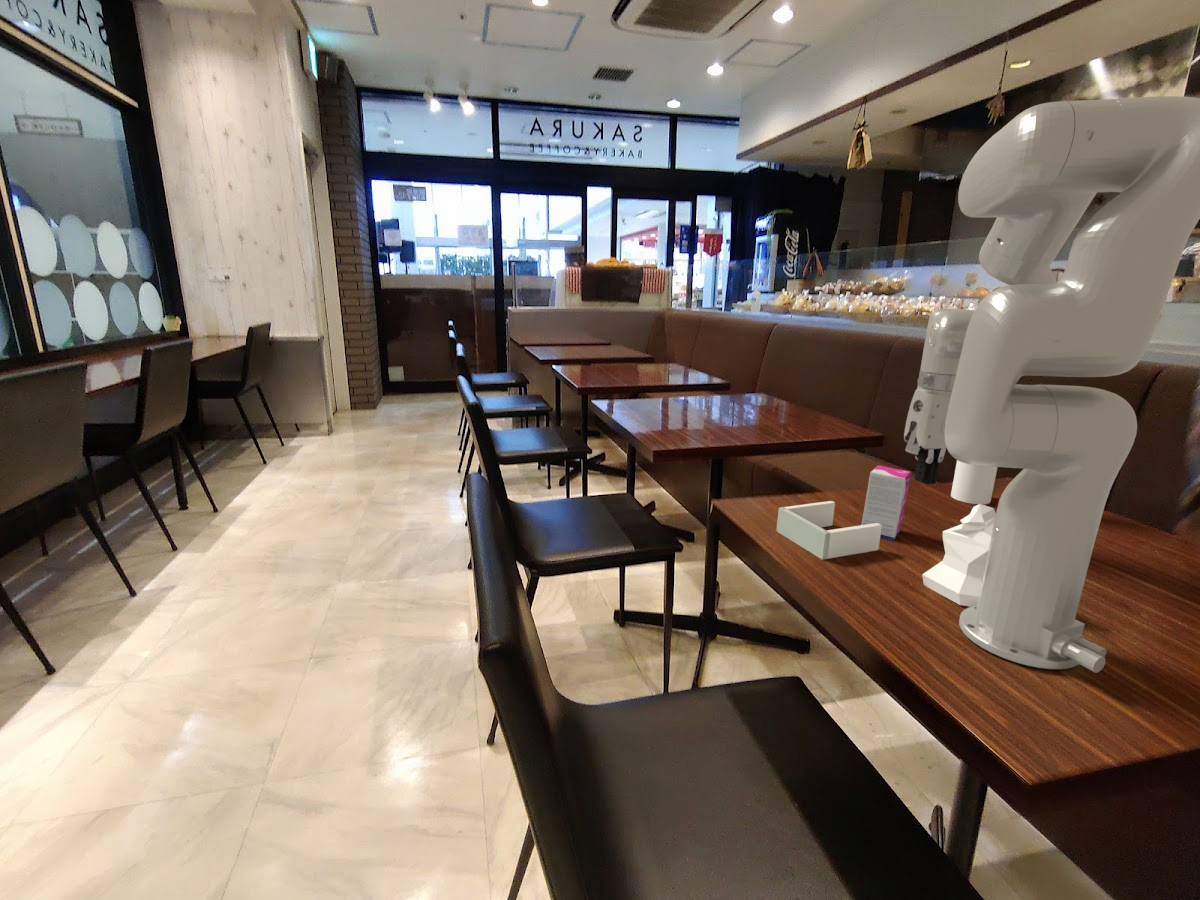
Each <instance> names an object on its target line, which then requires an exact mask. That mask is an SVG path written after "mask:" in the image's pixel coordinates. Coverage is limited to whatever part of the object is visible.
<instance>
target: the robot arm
mask: <svg viewBox="0 0 1200 900" xmlns="http://www.w3.org/2000/svg"><path fill="white" fill-rule="evenodd" d="M958 188H959V189H958V192H957V193H958V195H957V196H958V197H957V200H958V201H957V202H958V207H959V208H960V212H961V213H962V214H964V215H965V216H966V217H969V218H977V219H978V218H991V219H992V218H996V219H995V221H994V223H993V224H992V227H991V228H990V230H989V232H988V234H987V236H986V238H985V239H984V242H983V244H982V245H981V248H980V251H979V253H978V260H979V263H980V267H982V269H983V270H984V271H985V272H986V274H988V275H990V277H992V278H994V279H996V280H997V281H999V282H1001V283H1003V284H1006V285H1005V286H1001V287H999V288H996V289H994V290H992V291H991V292H989V293H988V294H987V295H986V296H984V297H983V299H981V301H980V302H979V304H978V305H977V307H976V308H975V310H973V309H966V308H939V309H935V310H933V311H932V312H931V314H930V315H929V318H928V321H927V327H926V334H925V339H924V344H923V352H922V357H921V362H920V363H921V364H920V370H919V375H918V378H917V380H916V381H917V387H916V389H915V391H914V394H913V395H912V398H911V401H910V405H909V409H908V412H907V417H906V420H905V427H904V432H903V440H904V442H905V443H906V446H905V449H904V450H905V452H906V453H909V454H912V455H914V456H915V460H917V462H916V468H915V473H914V480H915V481H917V482H920V483H922V484H925V485H928V486H930V485H935V484H936V483H937V480H938V479H937V478H938V472H939V468H940V463H942V462H943V460H944V457H945V455H946V454H947V452H948V453H949V454H950V456H951V457H952V458H954V459H955V460H956V461H957V460H958V461H960V462H963V463H966V464H970V465H978V466H991V467H997V468H1006V469H1007V468H1010V469H1011V468H1012V469H1021V471H1020V472H1019V473H1018V474H1016V476H1015V477H1014V478H1013V479H1012V480H1011V481H1010V482H1009V483H1008V484H1007V486H1006V487H1005V489H1004V490H1003V491H1002V493H1001V495H1000V498H999V500H998V504H997V508H996V511H995V512H996V517H995V522H994V527H993V531H992V536H991V541H990V546H989V551H988V556H987V561H986V565H985V570H984V575H983V580H982V585H981V590H980V594H979V599H978V604H977V606H972V607H970V606H968V607H967V608H965V609H964V610H962V611H961V612H960V614H959V615H960V616H959V619H958V620H959V621H958V622H959V623H958V624H959V627H960V629H961V631H962V633H963V634H964V635H965V636H966V637H967V638H968V639H969V640H971V641H972V642H973V643H974V644H975V645H977V646H979V647H980V648H981V649H984V650H986V651H988V653H991V654H993V655H995V656H998V657H999V658H1002V659H1005V660H1008V661H1009V662H1010V661H1011V662H1012V663H1017V664H1020V665H1023V666H1024V665H1025V666H1028V667H1033V668H1036V669H1044V670H1045V669H1046V670H1066V669H1072V668H1074V667H1077V666H1079V665H1080V666H1083V667H1084V668H1086V669H1087V670H1090V671H1091V672H1093V673H1099V672H1100V671H1102V670H1103V669H1104V667H1105V665H1106V658H1105V657H1106V655H1107V649H1106V648H1105V647H1103V646H1101V645H1098V644H1097V643H1095V642H1091V641H1089V640H1087V639H1086V637H1085V636H1084V635H1083V632H1084V628H1085V623H1084V622H1081V621H1080V620H1078V619H1076V617H1077V613H1078V608H1079V604H1080V601H1081V598H1082V593H1083V590H1084V584H1085V580H1086V578H1087V573H1088V570H1089V569H1088V568H1089V566H1090V561H1091V558H1092V554H1093V549H1094V547H1095V542H1096V538H1097V535H1098V532H1099V528H1100V524H1101V520H1102V517H1103V514H1104V510H1105V506H1106V503H1107V499H1108V498H1109V495H1110V491H1111V489H1112V486H1113V484H1114V482H1115V480H1116V478H1117V476H1118V474H1119V472H1120V470H1121V468H1123V467H1122V466H1123V465H1124V463H1125V461H1126V459H1127V457H1128V455H1129V454H1130V451H1131V449H1132V448H1133V445H1134V442H1135V439H1136V437H1137V432H1138V420H1137V415H1136V413H1135V410H1134V408H1133V407H1132V405H1131V404H1130V403H1129V402H1128V401H1127V400H1126V399H1125V398H1123V397H1122V396H1120V395H1119V394H1117V393H1114V392H1112V391H1109V390H1105V389H1102V388H1097V387H1090V386H1081V385H1065V384H1063V385H1062V384H1059V385H1058V384H1017V383H1018V381H1019V380H1020V378H1021V377H1023V376H1033V377H1035V376H1037V377H1038V376H1039V377H1040V376H1041V377H1063V378H1064V377H1065V378H1066V377H1067V378H1102V377H1103V378H1104V377H1113V376H1119V375H1121V374H1122V375H1123V374H1124V373H1127V372H1129V371H1131V370H1132V369H1134V368H1135V367H1136V366H1137V365H1138V364H1139V362H1140V361H1141V360H1142V358H1143V357H1144V355H1145V353H1146V351H1147V350H1148V347H1149V344H1150V342H1151V340H1152V337H1153V335H1154V333H1155V329H1156V327H1157V324H1158V321H1159V318H1160V317H1161V316H1160V315H1161V313H1162V310H1163V307H1164V305H1165V303H1166V300H1167V297H1168V294H1169V291H1170V290H1171V289H1170V288H1171V286H1172V284H1173V280H1174V278H1175V275H1176V273H1177V270H1178V267H1179V263H1180V260H1181V258H1182V255H1183V252H1184V250H1185V247H1186V245H1187V242H1188V240H1189V238H1190V236H1191V234H1192V233H1193V231H1194V229H1195V227H1196V226H1197V224H1198V222H1199V220H1200V97H1193V96H1192V97H1190V96H1172V95H1171V96H1168V95H1167V96H1166V95H1165V96H1158V95H1157V96H1135V97H1133V96H1132V97H1119V98H1109V99H1108V98H1106V99H1083V100H1082V99H1081V100H1080V99H1079V100H1064V101H1063V100H1061V101H1050V102H1045V103H1040V104H1036V105H1033V106H1031V107H1029V108H1026V109H1025V110H1023V111H1022V112H1020V113H1019V114H1016V116H1015V117H1014V118H1013V119H1011V120H1009V122H1008V123H1006V125H1004V126H1003V127H1002V128H1001V129H999V130H998V131H997V132H996V133H994V134H993V135H992V136H991V137H990V138H989V139H988V140H987V141H986V142H984V144H983V145H982V146H981V147H980V148H979V149H978V150H977V151H976V153H975V154H974V156H973V157H972V158H971V160H970V161H969V163H968V164H967V167H966V169H965V170H964V173H963V175H962V178H961V180H960V184H959V187H958ZM1098 193H1119V194H1118V195H1116V196H1115V197H1114V198H1112V199H1111V200H1110V201H1108V202H1107V203H1106V204H1105V205H1103V206H1102V207H1101V208H1100V209H1099V210H1098V211H1097V212H1096V213H1095V214H1094V215H1093V216H1092V217H1091V218H1090V219H1088V221H1087V222H1086V223H1085V224H1084V225H1083V226H1082V227H1081V229H1080V230H1079V231H1078V233H1077V234H1076V236H1075V237H1074V239H1073V242H1072V245H1071V247H1070V250H1069V254H1068V258H1067V262H1066V266H1065V268H1064V272H1063V273H1062V277H1060V279H1059V281H1057V278H1056V276H1055V274H1054V272H1053V270H1052V268H1051V265H1052V263H1053V262H1054V260H1055V259H1056V257H1057V256H1058V254H1059V253H1060V251H1061V250H1062V248H1063V246H1064V245H1065V244H1066V242H1067V240H1068V238H1069V237H1070V236H1071V234H1072V232H1073V231H1074V229H1075V228H1076V226H1077V225H1078V224H1079V221H1080V220H1081V218H1082V217H1083V216H1084V213H1085V212H1086V210H1087V209H1088V208H1089V206H1090V204H1091V202H1092V201H1093V199H1094V198H1095V196H1096V195H1097V194H1098Z"/></svg>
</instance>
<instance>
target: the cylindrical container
mask: <svg viewBox="0 0 1200 900" xmlns="http://www.w3.org/2000/svg"><path fill="white" fill-rule="evenodd" d="M997 471H998V467H991V466H978V465H970V464H966V463H963V462H960V461H958V460H956V464H955V469H954V475H953V476H954V477H953V481H952V487H951V492H950V497H951V498H953V499H954V500H956V501H960V502H963V503H967V504H970V505H979V504H982V505H989V504H990V503H991V501H992V496H993V491H994V487H995V482H996V477H997Z"/></svg>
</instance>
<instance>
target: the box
mask: <svg viewBox="0 0 1200 900" xmlns="http://www.w3.org/2000/svg"><path fill="white" fill-rule="evenodd" d="M835 507H836V502H835V501H833V500H828V501H820V502H813V503H805V504H797V505H791V506H781V507H778V514H777V521H776V532H777V533H778V534H781V535H782V536H783V537H785V538H787V539H788V540H789V541H792V542H793V543H794V544H796V545H798V546H799V547H800V548H802V549H804V550H806V551H808V552H809V553H811V554H812V555H814V556H815V557H817V558H819V559H820V560H828V559H833V558H834V559H835V558H839V557H846V556H852V555H858V554H864V553H869V552H876V551H879V548H880V542H881V541H880V540H881V537H880V535H881V529H882V525H881V524H879V523H873V524H866V525H862V524H860V525H855V526H854V525H853V526H848V527H846V526H845V527H841V528H834V529H828V530H826V529H824V527H825V528H826V527H832V526H833V523H834V514H835Z"/></svg>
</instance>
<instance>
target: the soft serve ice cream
mask: <svg viewBox="0 0 1200 900" xmlns="http://www.w3.org/2000/svg"><path fill="white" fill-rule="evenodd" d="M996 512H997V511H995V508H993V507H990V506H987V505H986V504H976V505H974V506H973V507H972V509H971V511H970V513H969V514H968V515H966V516H964V517H963V518H961V519H960V520H959V521H960V522H961V524H957V525H956V526H955V525H954V526H953V527H950V528H948V529H945V530H943V531H942V541H943V547H944V553H945V554H944V556H943V558H942V560H941V561H939V562H938V563H937V564H935V565H934V566H932V567H931V568H929V569H928V570H927V571H925V572H924V573H922V581H923V582H922V583H923V586H925V587H926V588H928V589H930V590H932V591H934V592H936V593H937V594H939V595H941V596H943V597H944V598H946V599H949V600H950V601H952V602H954V603H956V604H957V605H959V606H964V607H972V606H977V604H978V599H979V594H980V590H981V585H982V580H983V575H984V570H985V565H986V561H987V556H988V551H989V546H990V541H991V536H992V531H993V527H994V522H995V517H996Z"/></svg>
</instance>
